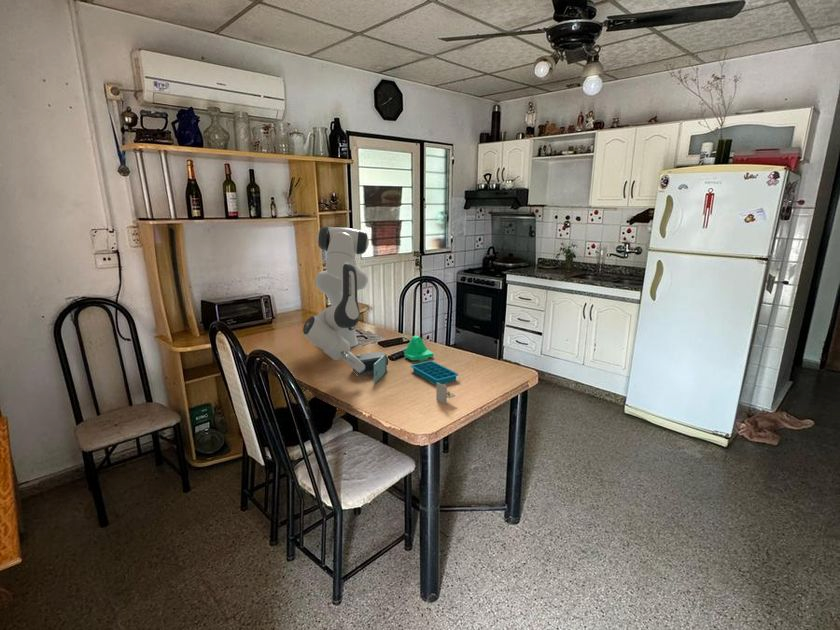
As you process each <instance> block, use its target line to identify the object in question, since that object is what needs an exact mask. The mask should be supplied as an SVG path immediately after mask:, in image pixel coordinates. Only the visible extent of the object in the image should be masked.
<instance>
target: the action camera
mask: <svg viewBox="0 0 840 630" xmlns="http://www.w3.org/2000/svg"><path fill="white" fill-rule="evenodd" d="M384 354H385V353H383V352H381V351H375V352H369V353H361V354H354V355H355V356H356V357H357V358H358V359H359V360H360V361H361V362H362V363H363V364H364V365H365V369H364V371H361V372H360V373H359V372H357V371H356V370H355V369H354V368H352V372H353V371H354V372H355V373H356V374H357V375H358V376H357V375H356V374H355V373H354V372H353V373H354V374H355V375H356V376H357V377H363V376H368V374H369V375H374V363H375V362H377V361H378V360H379V359H380V358H381V357H382V356H383V355H384ZM388 365H389V358H388V355H386V372H387V367H388ZM362 375H363V376H362Z"/></svg>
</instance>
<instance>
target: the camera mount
mask: <svg viewBox="0 0 840 630" xmlns="http://www.w3.org/2000/svg"><path fill="white" fill-rule="evenodd" d="M403 356H404V357H405V358H407V359H409V360H411V361H418V362H421V361H427V360H428V359H429V358H433V357H434V352H432V351H431V350H429V349H428V348H427V346H426V345H425V343H424V342H423V337H420V336H419V335H413V336H412V337H411V338H410V340H409V342H408V344H407V347H406V348H405V351H404V352H403Z"/></svg>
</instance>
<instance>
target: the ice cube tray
mask: <svg viewBox="0 0 840 630" xmlns="http://www.w3.org/2000/svg"><path fill="white" fill-rule="evenodd" d="M410 367H411V368H413V369H412V370H413V371H414V372H415V374H416V375H418V376H419V375H420V376H419V377H421V378H423V379H425V380H426V379H427V381H428V382H430V383H431V384H434V385H435V386H437V382H438V383H440V384H442V385H444V384H448V383H452V382H455V381H456V379H457V377H458V376H459V373H457V372H455V371H454V370H452V369H449V368H447V367H445V365H442V364H439V363H438V362H435V361H434V360H428V361H427V360H426V361H423V362H419V363H415V364H411V365H410ZM414 372H413V373H414Z"/></svg>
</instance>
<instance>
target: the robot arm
mask: <svg viewBox="0 0 840 630" xmlns="http://www.w3.org/2000/svg"><path fill="white" fill-rule="evenodd" d="M316 241H317V244H318V247H319V249H320V250H322V251H326V257H325V270H322V271H319V272H318V273H317V274H316V277H315V282H314V283H315V286H316V287H317V289H318V290H319V291H320V292H322V293H324V295H325V296H326V297H327V299H328V300H329V302H330V306H328V307H326V308H324V309H322V310H321V311H319V313H318V314H316V315H313V316H310V317H308V319H306V321H305V323H304V324H303V327H302V332H303V335H304V336H305V338H306V339H308V341H309V342H311V344H312V345H315V347H317V348H318V349H321V350H322V351H323V353H324V354H326V355H327V356H329V357H330V358H331V359H332V360H333V361H342V360H343V361H344V362H345V363H346V364H347V365H349V366H350V367H351V368H352V369H353V368H354V369H355V370H356V371H357V372H359V373H360V372H361V371H364V369H365V365H364V364H363V363H362V362H361V361H360V360H359V359H358V358H357V357H356V356H355V355H356V354H354V353H353V352H352V351H351V348H354V347H356V346H358V344H359V341H358V338H357V334H356V326H357V324H358V323H359V321H360V317H361V313H360V312H361V311H360V307H359V301H358V291H360V290H363V289H366V287H367V285H368V281H369V280H368V275H367V273H366V272H365V270H363V269H361V268H360V267H359V266H358V265H357V263H356V255H361V254H365V253H366V251H367V249H368V247H369V244H370V243H369V241H370V240H369V235H368V233H367V232H366V231H364V230H362V229H354V228H349V227H336V226H334V227H333V226H331V227H330V226H322V227H321V228H320V229H319V230H318V233H317V237H316Z"/></svg>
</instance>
